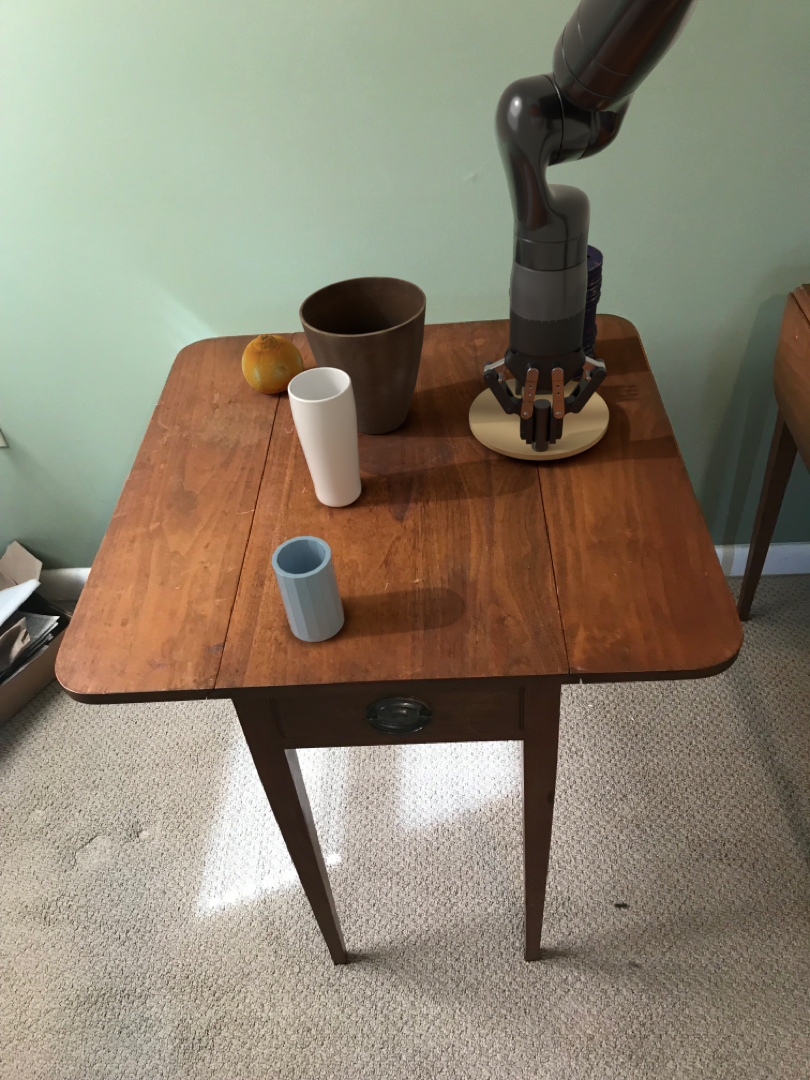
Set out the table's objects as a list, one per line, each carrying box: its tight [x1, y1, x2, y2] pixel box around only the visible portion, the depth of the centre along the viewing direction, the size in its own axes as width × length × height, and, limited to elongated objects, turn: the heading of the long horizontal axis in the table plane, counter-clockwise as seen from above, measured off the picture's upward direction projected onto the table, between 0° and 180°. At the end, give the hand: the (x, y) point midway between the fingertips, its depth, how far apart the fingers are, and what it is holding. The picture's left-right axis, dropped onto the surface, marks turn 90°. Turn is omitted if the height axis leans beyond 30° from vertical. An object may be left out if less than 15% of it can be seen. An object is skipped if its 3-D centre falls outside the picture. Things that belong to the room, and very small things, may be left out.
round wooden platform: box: [468, 377, 610, 460], centre depth 93 cm, size 17×17×7 cm
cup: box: [271, 535, 345, 643], centre depth 73 cm, size 5×5×9 cm
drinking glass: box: [287, 367, 362, 508], centre depth 84 cm, size 7×7×15 cm
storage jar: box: [571, 244, 604, 381], centre depth 101 cm, size 10×10×15 cm
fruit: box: [241, 333, 304, 395], centre depth 106 cm, size 8×8×8 cm
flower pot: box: [298, 276, 427, 435], centre depth 95 cm, size 15×15×16 cm
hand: (540, 439), depth 89 cm, fingers closed on round wooden platform, 2 cm apart
